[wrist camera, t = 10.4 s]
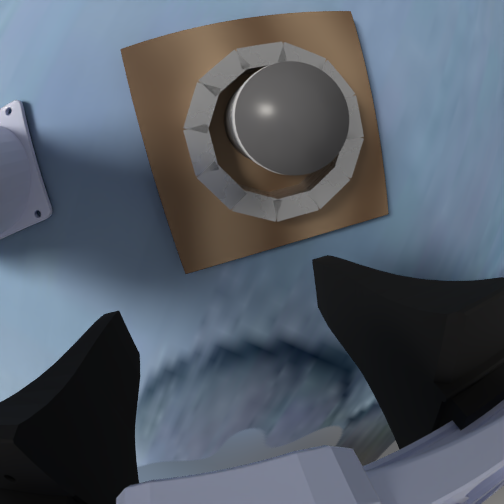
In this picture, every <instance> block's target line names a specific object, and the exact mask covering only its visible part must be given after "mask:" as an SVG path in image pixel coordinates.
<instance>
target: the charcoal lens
mask: <svg viewBox="0 0 504 504" xmlns="http://www.w3.org/2000/svg"><path fill="white" fill-rule="evenodd" d="M224 127H225V131H226V134H227V137H228V139H229V141H230V143H231V144H232V146H233V147H234V148H235V149H236V150H237V151H238V152H239V153H240V154H241V155H243V156H244V157H246V158H248V159H250V160H252V161H253V162H255V163H256V164H258V165H259V166H261V167H263V168H265V169H267V170H269V171H272V172H274V173H278V174H282V175H305V174H309V173H312V172H315V171H317V170H320V169H321V168H323V167H325V166H326V165H328V164H329V163H330V162H331V161H332V160H333V159H334V158H335V157H336V156H337V155H338V153H339V152H340V151H341V149H342V147H343V145H344V143H345V141H346V138H347V134H348V130H349V110H348V106H347V102H346V100H345V97H344V95H343V93H342V91H341V89H340V88H339V86H338V85H337V84H336V82H335V81H334V80H333V79H332V78H331V77H330V76H329V75H327V74H326V73H325V72H323V71H322V70H320V69H319V68H317V67H315V66H312V65H310V64H307V63H302V62H296V61H285V62H279V63H275V64H271V65H268V66H266V67H264V68H262V69H260V70H258V71H257V72H256V73H254V74H253V75H252V76H251V77H249V78H248V79H247V80H246V81H245V82H244V84H243V85H242V86H241V87H240V88H238V89H237V90H236V91H235V92H234V94H233V95H232V96H231V98H230V99H229V101H228V103H227V106H226V109H225V113H224Z"/></svg>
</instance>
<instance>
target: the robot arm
mask: <svg viewBox="0 0 504 504" xmlns="http://www.w3.org/2000/svg"><path fill="white" fill-rule="evenodd" d="M10 108H11V109H12V112H11V114H10V115H9V114H8V111H9V109H10ZM37 210H39V211H40V212H41V217H39V216H38V215H37ZM51 214H52V206H51V204H50V201H49V198H48V195H47V192H46V189H45V186H44V183H43V179H42V176H41V173H40V170H39V166H38V163H37V159H36V156H35V152H34V149H33V145H32V141H31V137H30V133H29V129H28V125H27V120H26V116H25V111H24V107H23V103H22V102H21V101H19V100H15V101H12V102H11V103H9V104H7V105H6V106H4V107H2V108H1V109H0V239H2V238H4V237H7V236H9V235H11V234H13V233H15V232H18V231H20V230H22V229H24V228H27V227H29V226H31V225H33V224H36V223H38V222H40V221H43V220H45V219H47V218H49V217H50V216H51ZM312 261H313V269H314V277H315V285H316V293H317V302H318V308H319V310H320V312H321V314H322V315H323V317H324V319H325V321H326V323H327V325H328V327H329V328H330V329H331V331H332V332H333V334H334V335H335V336H336V338H337V339H338V340H339V342H340V343H341V344H342V346H343V347H344V349H345V350H346V351H347V353H348V354H349V355H350V357H351V358H352V359H353V361H354V362H355V363H356V365H357V366H358V368H359V369H360V371H361V372H362V374H363V375H364V377H365V379H366V381H367V383H368V384H369V386H370V388H371V390H372V392H373V393H374V395H375V397H376V399H377V401H378V403H379V405H380V407H381V409H382V411H383V413H384V415H385V417H386V420H387V422H388V424H389V426H390V428H391V430H392V433H393V435H394V437H395V440H396V442H397V444H398V447H399V449H400V450H398V451H396V452H394V453H392V454H390V455H388V456H385V457H383V458H381V459H379V460H377V461H374V462H372V463H370V464H368V465H365V466H363V467H362V465H361V463H360V461H359V459H358V457H357V456H356V454H355V452H354V451H353V449H351V448H344V447H336V446H328V445H323V446H318V447H314V448H308V449H303V450H298V451H293V452H290V453H287V454H283V455H280V456H276V457H273V458H269V459H266V460H262V461H258V462H254V463H250V464H245V465H241V466H237V467H233V468H227V469H222V470H217V471H212V472H207V473H201V474H195V475H188V476H182V477H174V478H167V479H158V480H151V481H147V482H143V483H139V480H138V472H137V462H136V450H135V420H136V410H137V401H138V392H139V383H140V354H139V352H138V350H137V348H136V346H135V344H134V342H133V340H132V337H131V335H130V333H129V331H128V329H127V327H126V325H125V323H124V320H123V318H122V316H121V314H120V312H119V311H115V312H111V313H107V314H104V315H103V316H101V317H100V318H99V319H98V320H97V321H96V322H95V323H94V324H93V325H92V326H91V327H90V328H89V329H88V330H87V331H86V332H85V333H84V334H83V335H82V336H81V338H80V339H79V340H78V341H77V342H76V343H75V344H74V345H73V346H72V347H71V348H70V349H69V350H68V351H67V352H66V353H65V354H64V355H63V356H62V357H61V358H60V359H59V360H58V361H57V362H56V363H55V364H54V365H52V366H51V367H50V368H49V369H48V370H47V371H45V372H44V373H43V374H42V375H41V376H39V377H38V378H37V379H36V380H34V381H33V382H31V383H30V384H28V385H27V386H26V387H24V388H23V389H21V390H20V391H19V392H17V393H15V394H14V395H12V396H10V397H9V398H7V399H5V400H4V401H2V402H0V504H481V503H483V502H484V501H485V500H487V499H488V498H489V497H490V496H492V495H493V494H494V493H495V492H496V491H497V490H499V489H500V488H501V487H502V486H503V485H504V278H503V277H501V278H493V279H484V280H475V281H439V280H426V279H418V278H412V277H405V276H400V275H395V274H391V273H387V272H383V271H379V270H376V269H372V268H369V267H366V266H362V265H359V264H356V263H353V262H350V261H347V260H344V259H341V258H337V257H334V256H329V255H327V256H324V257H320V258H317V259H313V260H312Z"/></svg>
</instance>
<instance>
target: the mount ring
mask: <svg viewBox="0 0 504 504" xmlns="http://www.w3.org/2000/svg"><path fill="white" fill-rule="evenodd" d="M325 60H326V58H324V57H321V56H319V55H317V54H314V53H312V52H309V51H307V50H304V49H302V48H299V47H297V46H294V45H291V44H289V43H286V42H284V43H282V42H275V43H268V44H261V45H255V46H249V47H243V48H237V49H236V50H233V51H232V52H231V53H230V54H228V55H227V56H226V57H225V58H224V59H222V60H221V61H220V62H219V63H218V64H216V65H215V66H214V67H213V68H212V69H211V70H209V71H208V72H207V73H206V74H205V75H204V76H203V77H202V78H200V79H199V80H198V82H197V84H196V87H195V91H194V94H193V97H192V100H191V104H190V107H189V110H188V113H187V117H186V120H185V124H184V127H183V128H184V129H186V130H183V131H184V135H185V139H186V142H187V146H188V150H189V153H190V157H191V161H192V164H193V168H194V172H195V175H196V176H197V179H198V180H199V181H200V182H202V183H203V184H204V185H205V186H206V187H207V188H208V189H209V190H210V191H211V192H212V193H213V194H214V195H215V196H216V197H217V198H218V199H219V200H220V201H221V202H222V203H223V204H224V205H226V206H227V207H228V208H229V209H230V210H232V211H233V212H238V213H242V214H246V215H250V216H254V217H258V218H262V219H266V220H270V221H274V222H276V221H277V222H278V221H282V220H285V219H289V218H292V217H296V216H300V215H303V214H307V213H310V212H314V211H318V210H319V209H321V208H322V207H323V206H324V205H325V204H326V203H327V202H328V201H329V200H330V199H331V198H332V197H333V196H334V195H336V194H337V193H338V192H339V191H340V190H341V189H342V188H343V187H344V186H345V185H346V184H347V183H348V182H349V181H350V179H349V178H352V175H353V172H354V168H355V165H356V162H357V159H358V156H359V153H360V149H361V146H362V143H363V140H364V139H363V138H361V137H364V135H363V129H362V123H361V118H360V112H359V107H358V102H357V97H356V95H354V94H355V93H354V91H353V90H352V89H351V87H350V86H349V85H348V84H347V82H346V81H345V80H344V79H343V77H342V76H341V75H340V74H339V72H338V71H337V70H336V69H335V68H334V66H333V65H332V64H331V63H330V62H329V61H328V60H326V61H325ZM285 61H296V62H302V63H307V64H310V65H312V66H315V67H317V68H319V69H320V70H322V71H323V72H325V73H326V74H327V75H329V76H330V77H331V78H332V79H333V80H334V81H335V82H336V84H337V85H338V86H339V88H340V89H341V91H342V93H343V95H344V97H345V100H346V102H347V106H348V110H349V130H348V134H347V138H346V141H345V143H344V145H343V147H342V149H341V151H340V152H339V153H338V155H337V156H336V157H335V158H334V159H333V160H332V161H331V162H330V163H329V164H328V165H326V166H325V167H323V168H321V169H320V170H317V171H315V172H312V173H310V174H309V175H308V176H307V177H306V178H305V179H304V180H303V181H302V182H300V183H299V184H298V185H294V186H290V187H286V188H282V189H278V190H275V191H271V192H266V191H263V190H259V189H255V188H251V187H248V186H244V185H240V184H237V183H236V182H235V181H234V180H233V179H232V178H231V177H230V176H229V175H228V174H227V173H226V172H225V171H224V170H223V169H222V168H221V167H220V166H219V165H218V164H217V160H216V156H215V152H214V148H213V144H212V141H211V137H210V133H209V129H208V128H209V125H210V122H211V118H212V115H213V112H214V108H215V105H216V102H217V99H218V96H219V94H220V93H221V92H222V91H223V90H225V89H226V88H227V87H228V86H229V85H230V84H231V83H232V82H234V81H235V80H236V79H237V78H238V77H239V76H241V75H245V74H251V73H256V72H257V71H258V70H260V69H262V68H264V67H266V66H268V65H271V64H275V63H279V62H285ZM353 95H354V96H353ZM348 177H349V178H348ZM318 208H319V209H318Z"/></svg>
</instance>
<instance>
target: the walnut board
mask: <svg viewBox="0 0 504 504" xmlns="http://www.w3.org/2000/svg"><path fill="white" fill-rule="evenodd" d="M275 42H282V43H284V42H286V43H289V44H291V45H294V46H297V47H299V48H302V49H304V50H307V51H309V52H312V53H314V54H317V55H319V56H321V57H324V58H326V60H328V61H329V62H330V63H331V64H332V65H333V66H334V68H335V69H336V70H337V71H338V72H339V74H340V75H341V76H342V77H343V79H344V80H345V81H346V82H347V84H348V85H349V86H350V87H351V89H352V90H353V91H354V93H355V94H354V95H356V97H357V102H358V107H359V112H360V118H361V123H362V129H363V135H364V137H361V138H363V139H364V140H363V143H362V146H361V149H360V153H359V156H358V159H357V162H356V165H355V168H354V172H353V175H352V178H349V177H348V178H349V179H350V181H349V182H348V183H347V184H346V185H345V186H344V187H343V188H342V189H341V190H340V191H339V192H338V193H337V194H336V195H334V196H333V197H332V198H331V199H330V200H329V201H328V202H327V203H326V204H325V205H324V206H323V207H322V208H321V209H319V208H318V209H319V210H318V211H314V212H310V213H307V214H303V215H300V216H296V217H292V218H289V219H285V220H282V221H278V222H277V221H276V222H274V221H270V220H266V219H262V218H258V217H254V216H250V215H246V214H242V213H238V212H233V211H232V210H230V209H229V208H228V207H227V206H226V205H224V204H223V203H222V202H221V201H220V200H219V199H218V198H217V197H216V196H215V195H214V194H213V193H212V192H211V191H210V190H209V189H208V188H207V187H206V186H205V185H204V184H203V183H202V182H200V181H199V180H198V179H197V176H196V175H195V172H194V168H193V164H192V161H191V157H190V153H189V150H188V146H187V142H186V139H185V135H184V131H183V130H186V129H184V128H183V127H184V124H185V120H186V117H187V113H188V110H189V107H190V104H191V100H192V97H193V94H194V91H195V87H196V84H197V82H198V80H199V79H200V78H202V77H203V76H204V75H205V74H206V73H207V72H208V71H209V70H211V69H212V68H213V67H214V66H215V65H216V64H218V63H219V62H220V61H221V60H222V59H224V58H225V57H226V56H227V55H228V54H230V53H231V52H232V51H233V50H236V49H237V48H243V47H249V46H255V45H261V44H268V43H275ZM121 54H122V58H123V63H124V67H125V71H126V76H127V80H128V84H129V88H130V92H131V96H132V100H133V104H134V108H135V112H136V116H137V119H138V123H139V127H140V131H141V134H142V138H143V141H144V145H145V149H146V152H147V156H148V159H149V163H150V166H151V169H152V173H153V176H154V179H155V183H156V186H157V189H158V193H159V196H160V199H161V202H162V205H163V208H164V212H165V215H166V218H167V221H168V224H169V227H170V230H171V233H172V236H173V239H174V242H175V245H176V248H177V251H178V254H179V257H180V260H181V262H182V265H183V268H184V271H185V274H188V273H191V272H195V271H198V270H201V269H205V268H208V267H212V266H215V265H218V264H222V263H225V262H229V261H232V260H235V259H239V258H242V257H246V256H249V255H252V254H256V253H259V252H262V251H266V250H269V249H273V248H276V247H279V246H283V245H286V244H290V243H293V242H296V241H300V240H303V239H306V238H310V237H313V236H317V235H320V234H323V233H327V232H330V231H333V230H337V229H340V228H343V227H347V226H350V225H354V224H357V223H360V222H364V221H367V220H370V219H374V218H377V217H380V216H384V215H387V214H388V203H387V193H386V183H385V175H384V167H383V159H382V152H381V145H380V138H379V132H378V126H377V120H376V114H375V109H374V104H373V99H372V94H371V89H370V84H369V79H368V75H367V71H366V66H365V62H364V58H363V54H362V50H361V46H360V42H359V38H358V35H357V31H356V28H355V24H354V21H353V17H352V14H351V11H322V12H301V13H287V14H276V15H267V16H259V17H251V18H244V19H238V20H232V21H226V22H221V23H215V24H210V25H205V26H201V27H196V28H192V29H188V30H183V31H179V32H176V33H172V34H168V35H164V36H161V37H157V38H154V39H150V40H147V41H144V42H141V43H138V44H135V45H132V46H129V47H126V48H123V49H121ZM326 60H325V61H326ZM253 74H254V73H251V74H245V75H241V76H239V77H238V78H237V79H236V80H235V81H234V82H232V83H231V84H230V85H229V86H228V87H227V88H226V89H225V90H223V91H222V92H221V93H220V94H219V96H218V99H217V102H216V105H215V108H214V112H213V115H212V118H211V122H210V125H209V128H208V129H209V133H210V137H211V141H212V144H213V148H214V152H215V156H216V160H217V164H218V165H219V166H220V167H221V168H222V169H223V170H224V171H225V172H226V173H227V174H228V175H229V176H230V177H231V178H232V179H233V180H234V181H235V182H236V183H237V184H240V185H244V186H248V187H251V188H255V189H259V190H263V191H266V192H271V191H275V190H278V189H282V188H286V187H290V186H294V185H298V184H299V183H300V182H302V181H303V180H304V179H305V178H306V177H307V176H308V175H309V174H310V173H309V174H305V175H282V174H278V173H274V172H272V171H269V170H267V169H265V168H263V167H261V166H259V165H258V164H256V163H255V162H253V161H252V160H250V159H248V158H246V157H244V156H243V155H241V154H240V153H239V152H238V151H237V150H236V149H235V148H234V147H233V146H232V144H231V143H230V141H229V139H228V137H227V134H226V131H225V127H224V113H225V109H226V106H227V103H228V101H229V99H230V98H231V96H232V95H233V94H234V92H235V91H236V90H237V89H238V88H240V87H241V86H242V85H243V84H244V82H245V81H246V80H247V79H248V78H249V77H251V76H252V75H253ZM354 95H353V96H354Z"/></svg>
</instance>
